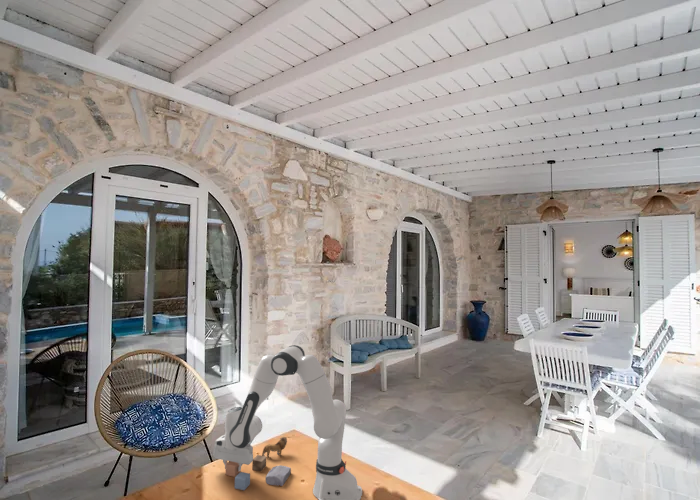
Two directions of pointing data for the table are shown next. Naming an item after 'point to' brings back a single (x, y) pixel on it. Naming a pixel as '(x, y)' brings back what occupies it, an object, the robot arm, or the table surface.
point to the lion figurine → (275, 447)
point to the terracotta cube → (231, 468)
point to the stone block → (278, 475)
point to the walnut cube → (259, 463)
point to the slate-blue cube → (242, 480)
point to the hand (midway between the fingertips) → (232, 469)
